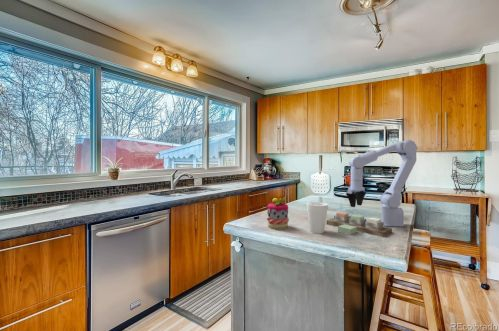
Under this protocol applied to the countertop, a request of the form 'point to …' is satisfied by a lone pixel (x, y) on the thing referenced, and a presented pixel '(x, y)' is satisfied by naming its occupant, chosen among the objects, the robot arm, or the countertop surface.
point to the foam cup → (317, 216)
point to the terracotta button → (342, 214)
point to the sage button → (357, 217)
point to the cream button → (374, 220)
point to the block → (347, 229)
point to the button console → (361, 225)
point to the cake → (278, 214)
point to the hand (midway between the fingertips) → (356, 206)
